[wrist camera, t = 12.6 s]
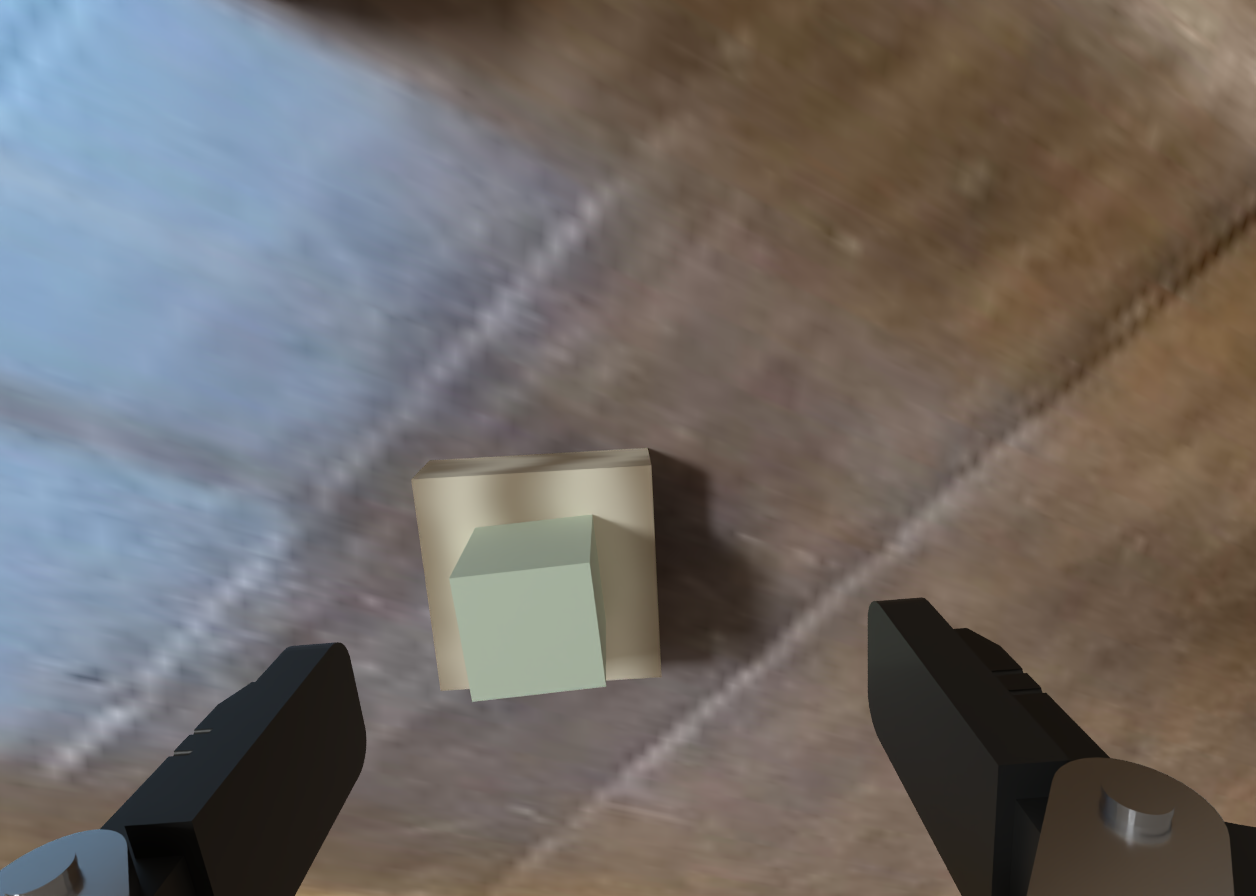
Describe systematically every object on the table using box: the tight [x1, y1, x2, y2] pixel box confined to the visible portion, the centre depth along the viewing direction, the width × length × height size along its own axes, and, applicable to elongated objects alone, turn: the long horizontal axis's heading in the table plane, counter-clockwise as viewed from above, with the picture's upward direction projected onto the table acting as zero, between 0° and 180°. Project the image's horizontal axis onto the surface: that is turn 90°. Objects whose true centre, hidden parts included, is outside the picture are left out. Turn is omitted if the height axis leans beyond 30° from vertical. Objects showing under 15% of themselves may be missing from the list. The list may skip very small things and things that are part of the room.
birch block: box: [411, 448, 661, 691], centre depth 38 cm, size 12×12×4 cm
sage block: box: [449, 515, 606, 702], centre depth 33 cm, size 6×6×6 cm
